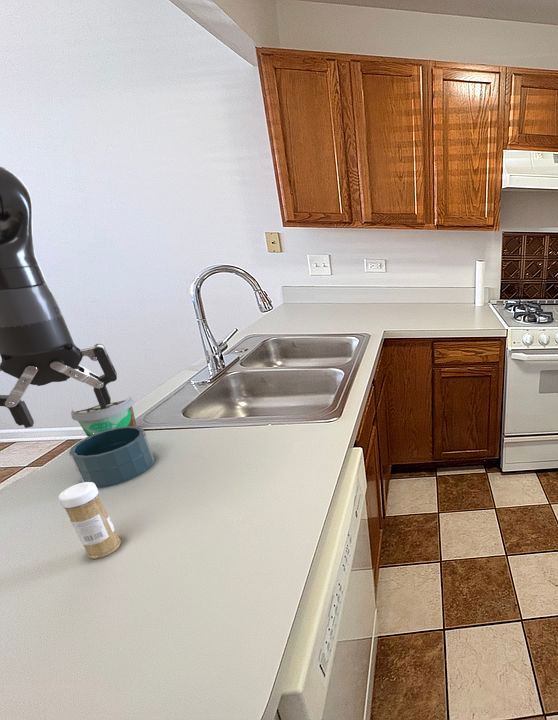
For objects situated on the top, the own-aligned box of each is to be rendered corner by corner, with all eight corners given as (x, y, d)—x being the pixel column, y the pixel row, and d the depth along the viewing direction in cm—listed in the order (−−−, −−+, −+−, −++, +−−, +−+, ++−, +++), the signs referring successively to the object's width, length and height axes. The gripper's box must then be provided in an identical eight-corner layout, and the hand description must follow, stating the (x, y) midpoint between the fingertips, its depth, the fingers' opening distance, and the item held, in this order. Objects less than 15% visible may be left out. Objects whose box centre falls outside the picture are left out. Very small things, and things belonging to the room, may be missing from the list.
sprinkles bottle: (126, 537, 74) (101, 478, 69) (112, 557, 70) (83, 496, 65) (97, 542, 73) (69, 483, 68) (81, 562, 69) (49, 501, 64)
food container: (81, 454, 98) (65, 419, 94) (83, 443, 103) (68, 409, 99) (144, 436, 105) (132, 403, 102) (144, 427, 110) (132, 395, 106)
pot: (68, 492, 85) (53, 461, 82) (105, 457, 97) (93, 429, 94) (136, 483, 88) (124, 453, 85) (164, 451, 99) (154, 423, 96)
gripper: (92, 304, 64) (126, 394, 70) (-46, 321, 55) (6, 422, 61) (91, 313, 58) (127, 410, 64) (-63, 333, 50) (-4, 443, 56)
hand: (68, 416), depth 63 cm, fingers open, 8 cm apart
